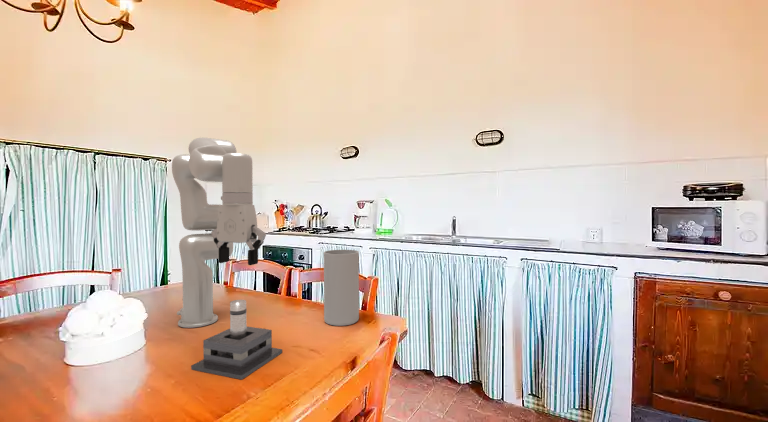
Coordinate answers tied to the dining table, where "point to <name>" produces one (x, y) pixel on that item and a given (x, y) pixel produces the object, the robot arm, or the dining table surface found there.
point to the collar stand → (237, 353)
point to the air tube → (238, 319)
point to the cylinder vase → (341, 287)
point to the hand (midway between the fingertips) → (238, 263)
